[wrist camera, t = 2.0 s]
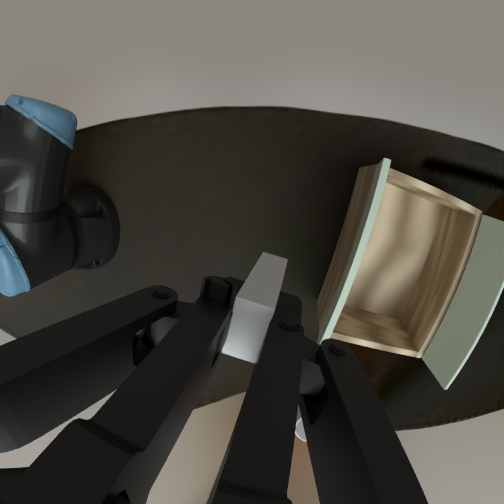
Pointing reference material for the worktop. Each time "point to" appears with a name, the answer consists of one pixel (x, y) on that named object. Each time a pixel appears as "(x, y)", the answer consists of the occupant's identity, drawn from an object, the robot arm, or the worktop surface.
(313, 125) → the worktop surface
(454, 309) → the flap
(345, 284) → the flap
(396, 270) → the box
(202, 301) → the robot arm
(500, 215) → the worktop surface
